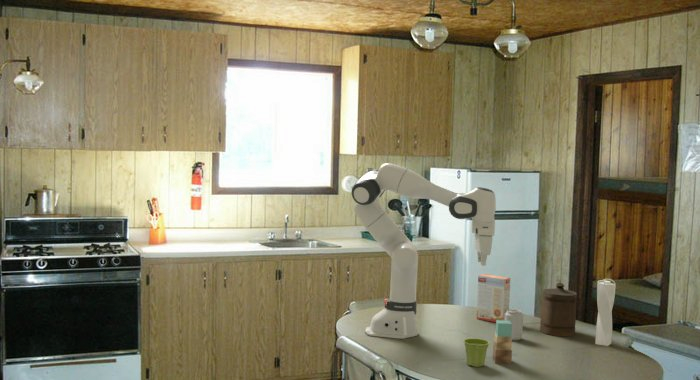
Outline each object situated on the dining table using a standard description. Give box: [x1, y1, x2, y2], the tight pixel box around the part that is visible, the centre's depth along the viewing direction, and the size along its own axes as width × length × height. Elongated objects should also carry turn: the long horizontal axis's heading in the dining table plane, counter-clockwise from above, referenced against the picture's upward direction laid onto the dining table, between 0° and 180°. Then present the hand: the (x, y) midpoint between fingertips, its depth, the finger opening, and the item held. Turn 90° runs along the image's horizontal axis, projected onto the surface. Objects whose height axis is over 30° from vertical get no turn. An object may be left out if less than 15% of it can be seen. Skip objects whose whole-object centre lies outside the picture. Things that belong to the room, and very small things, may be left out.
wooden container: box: [539, 282, 578, 337], centre depth 323 cm, size 15×15×22 cm
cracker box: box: [476, 273, 511, 323], centre depth 341 cm, size 14×6×21 cm, turn 49°
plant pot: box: [463, 337, 490, 368], centre depth 270 cm, size 9×9×9 cm
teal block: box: [495, 320, 512, 337], centre depth 275 cm, size 5×5×5 cm
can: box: [505, 308, 524, 341], centre depth 310 cm, size 8×8×12 cm
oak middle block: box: [493, 332, 513, 351], centre depth 275 cm, size 6×6×5 cm
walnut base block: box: [492, 345, 513, 365], centre depth 275 cm, size 6×6×5 cm
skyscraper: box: [594, 278, 617, 347], centre depth 305 cm, size 8×8×28 cm
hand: (481, 263), depth 291 cm, fingers open, 8 cm apart
